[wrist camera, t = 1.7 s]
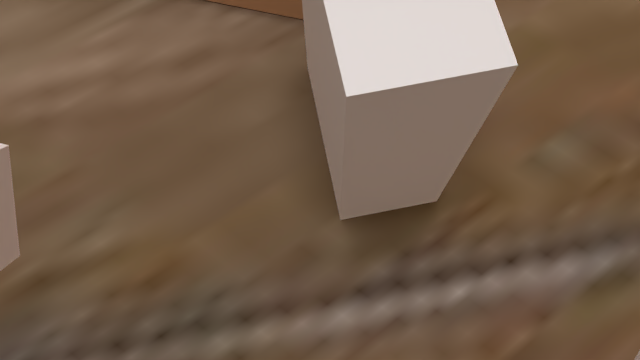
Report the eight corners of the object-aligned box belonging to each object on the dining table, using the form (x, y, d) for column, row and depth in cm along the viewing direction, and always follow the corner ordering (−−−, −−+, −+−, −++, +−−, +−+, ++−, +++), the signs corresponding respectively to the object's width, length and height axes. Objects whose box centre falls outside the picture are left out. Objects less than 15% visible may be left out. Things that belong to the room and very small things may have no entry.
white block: (340, 219, 28) (346, 96, 15) (307, 67, 31) (290, -138, 18) (440, 200, 28) (524, 63, 16) (398, 50, 31) (441, -163, 19)
